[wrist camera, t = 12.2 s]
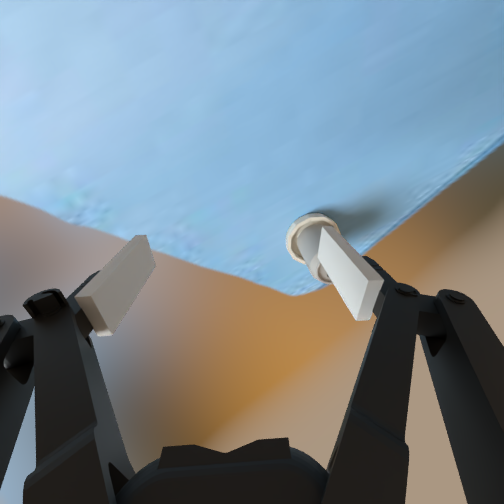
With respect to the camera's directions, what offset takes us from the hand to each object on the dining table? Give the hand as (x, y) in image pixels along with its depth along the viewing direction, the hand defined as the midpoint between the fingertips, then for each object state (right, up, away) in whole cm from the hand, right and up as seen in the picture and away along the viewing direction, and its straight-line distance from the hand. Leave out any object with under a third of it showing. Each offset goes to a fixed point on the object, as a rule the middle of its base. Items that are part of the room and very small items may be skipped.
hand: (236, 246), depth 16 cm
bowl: (+14, +3, +30) cm, 33 cm away
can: (+14, +3, +29) cm, 33 cm away
